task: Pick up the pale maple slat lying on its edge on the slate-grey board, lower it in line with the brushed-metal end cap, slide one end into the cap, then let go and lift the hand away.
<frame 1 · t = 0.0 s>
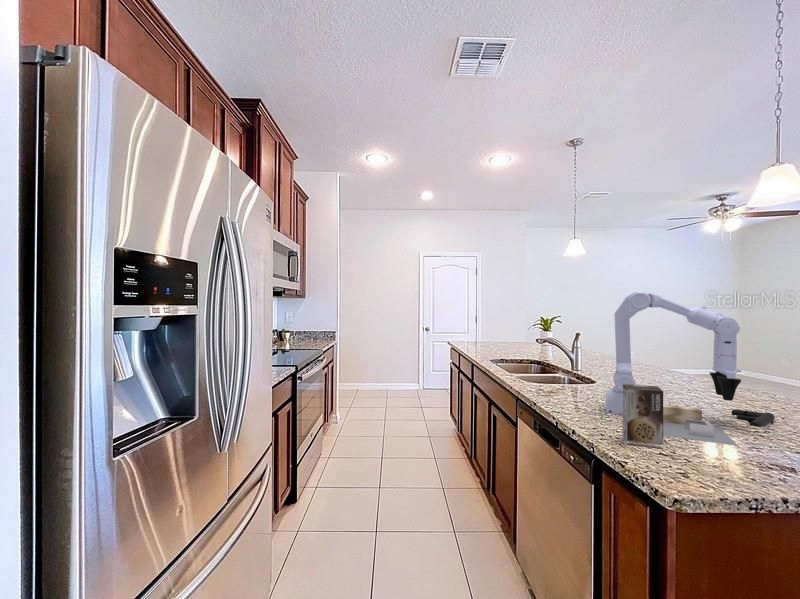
hand: (724, 397, 127), 10 cm above the countertop, tool pointing down, fingers open, 7 cm apart
end cap: (699, 432, 119), resting on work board
coffee box: (641, 444, 113), on the countertop
slat: (674, 422, 129), point 1 cm above the countertop, touching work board
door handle: (741, 422, 136), on the countertop
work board: (685, 434, 122), on the countertop
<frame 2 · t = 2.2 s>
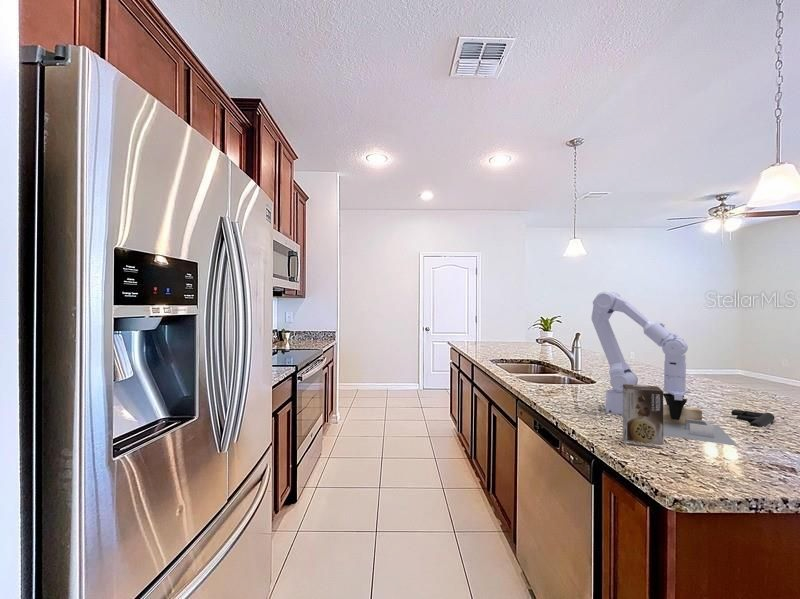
hand: (674, 417, 129), 3 cm above the countertop, tool pointing down, fingers closed on slat, 3 cm apart
slat: (674, 422, 129), point 1 cm above the countertop, touching gripper, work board
everything else where it was.
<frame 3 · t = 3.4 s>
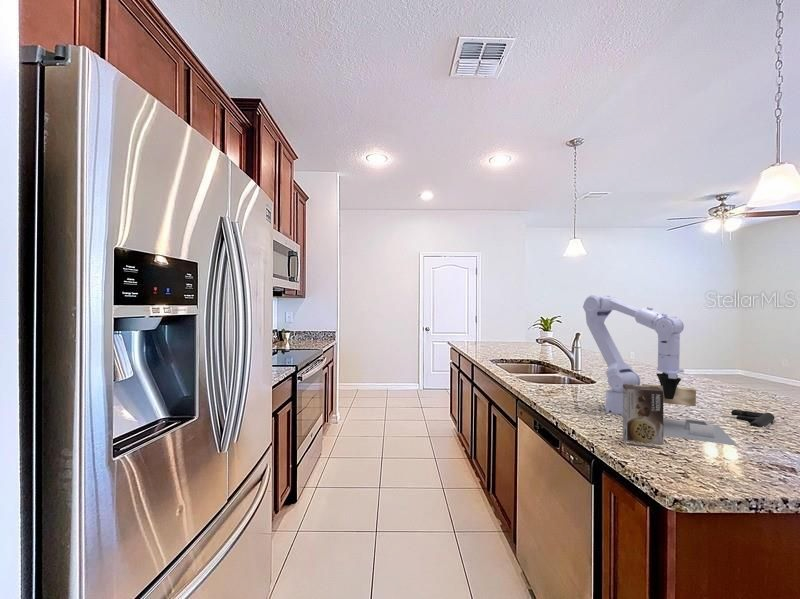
hand: (667, 397, 127), 10 cm above the countertop, tool pointing down, fingers closed on slat, 3 cm apart
slat: (667, 402, 127), point 8 cm above the countertop, touching gripper
everything else where it was.
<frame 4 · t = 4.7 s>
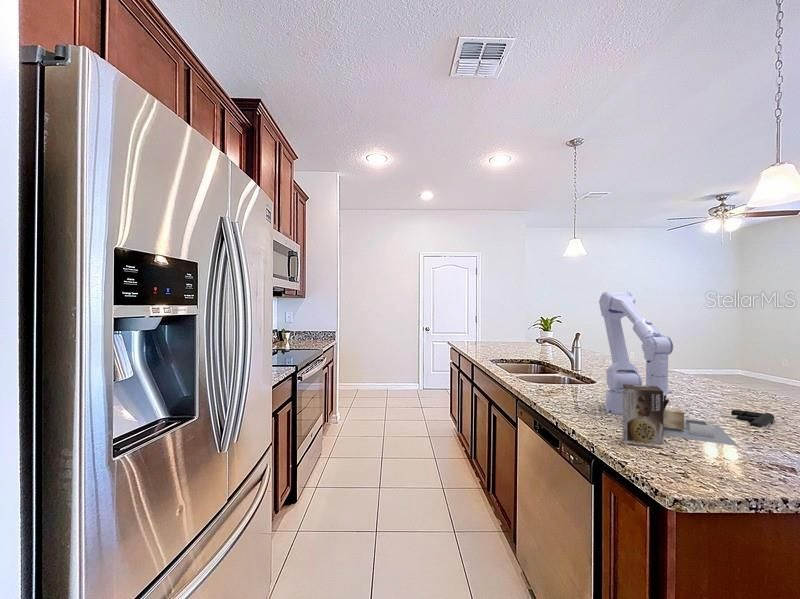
hand: (656, 419, 123), 4 cm above the countertop, tool pointing down, fingers closed on slat, 3 cm apart
slat: (655, 424, 124), point 2 cm above the countertop, touching gripper
everything else where it was.
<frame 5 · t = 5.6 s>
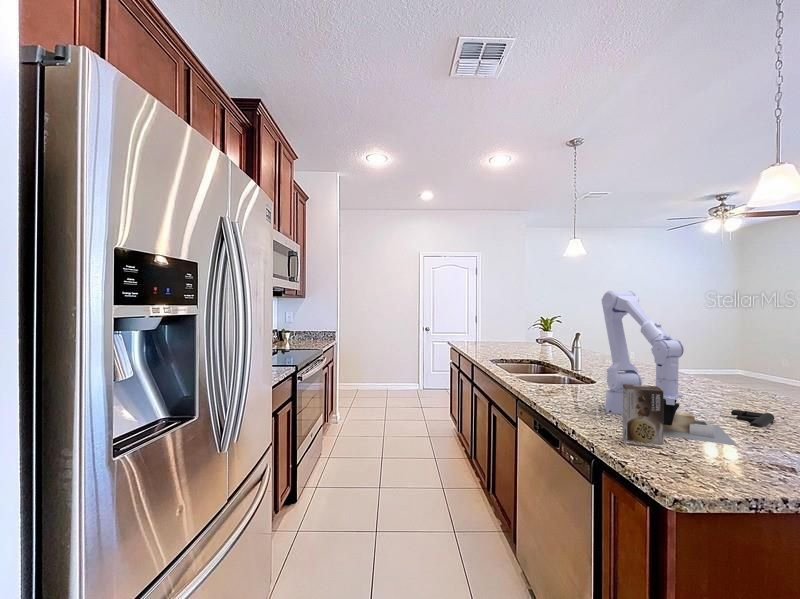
hand: (666, 423, 122), 3 cm above the countertop, tool pointing down, fingers closed on slat, 3 cm apart
slat: (665, 428, 122), point 2 cm above the countertop, touching gripper
everything else where it was.
when the fingers open (3 cm above the countertop, at t = 7.1 s): slat stays where it is, resting on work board.
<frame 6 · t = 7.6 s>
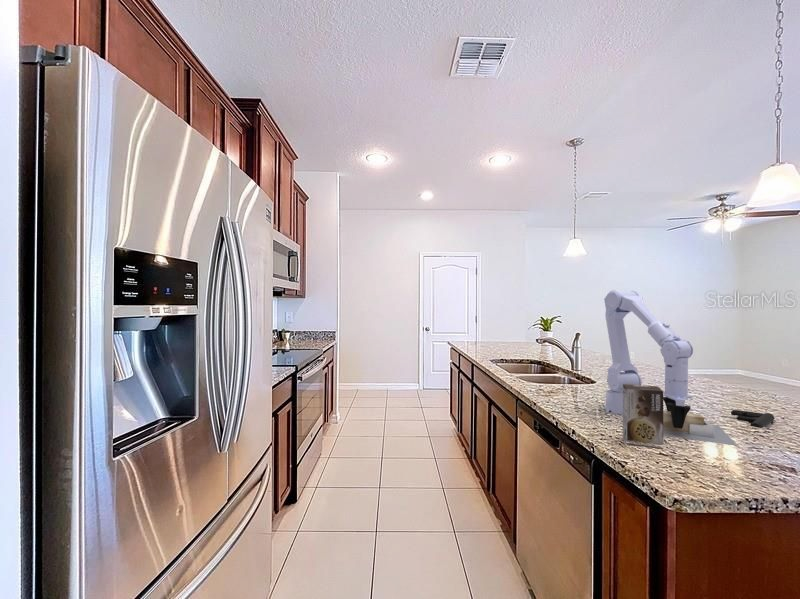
hand: (675, 424, 121), 3 cm above the countertop, tool pointing down, fingers open, 7 cm apart
slat: (674, 429, 121), point 1 cm above the countertop, touching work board
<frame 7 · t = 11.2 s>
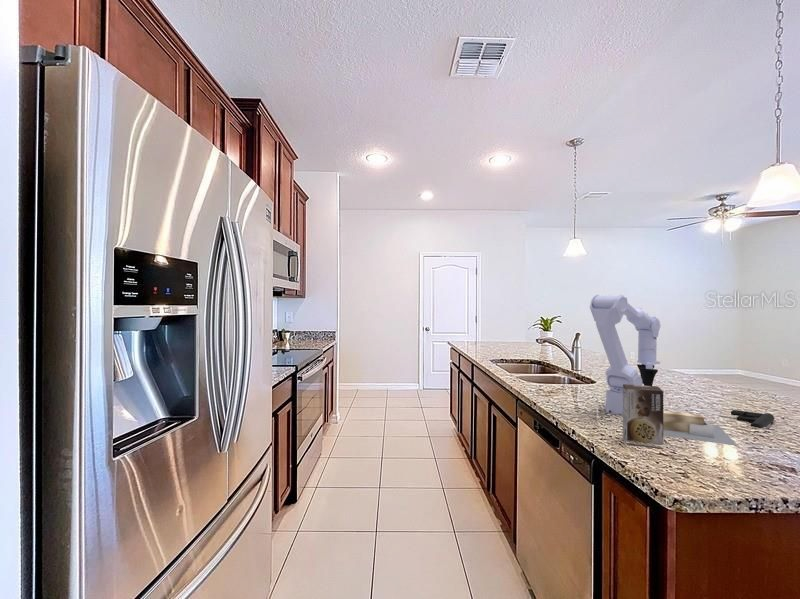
hand: (646, 385, 147), 9 cm above the countertop, tool pointing down, fingers open, 7 cm apart
at the end: slat 0.1 cm from the target spot, point 1.5 cm above the countertop; the gripper is holding nothing; slat tilted 0° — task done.
